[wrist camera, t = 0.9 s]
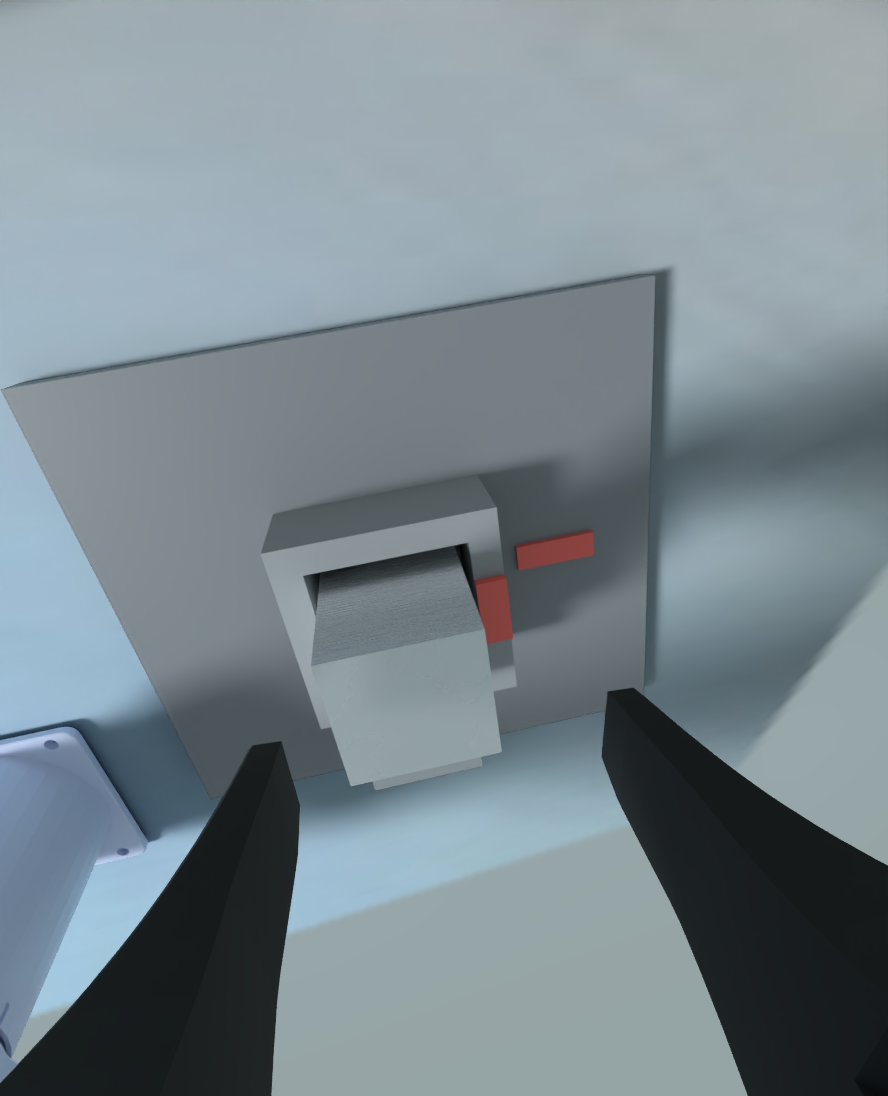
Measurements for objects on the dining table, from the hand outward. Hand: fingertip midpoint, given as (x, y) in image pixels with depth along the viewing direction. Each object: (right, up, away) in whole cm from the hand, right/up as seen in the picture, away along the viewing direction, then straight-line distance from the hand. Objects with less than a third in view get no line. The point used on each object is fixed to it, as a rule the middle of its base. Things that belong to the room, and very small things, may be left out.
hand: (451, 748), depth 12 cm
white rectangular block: (-2, +3, +9) cm, 9 cm away
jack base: (-2, +4, +10) cm, 10 cm away
